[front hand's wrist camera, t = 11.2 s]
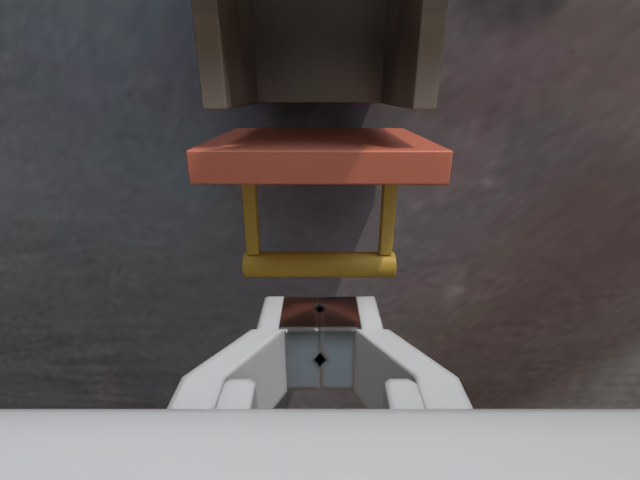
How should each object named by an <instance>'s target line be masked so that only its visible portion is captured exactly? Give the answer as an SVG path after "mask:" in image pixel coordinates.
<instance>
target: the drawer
mask: <svg viewBox="0 0 640 480" xmlns="http://www.w3.org/2000/svg"><path fill="white" fill-rule="evenodd" d="M191 4H192V13H193V22H194V31H195V40H196V50H197V59H198V68H199V77H200V86H201V95H202V104H203V109H204V110H227V109H231V108H236V107H241V106H245V105H250V104H255V103H383V104H388V105H393V106H397V107H402V108H407V109H411V110H435V109H436V105H437V96H438V87H439V78H440V69H441V60H442V51H443V42H444V33H445V24H446V15H447V6H448V0H191ZM186 157H187V165H188V173H189V180H190V184H241V186H242V199H243V211H244V224H245V237H246V250H247V252H245V253H244V255H243V260H242V270H243V275H244V277H395V274H396V256H395V253H394V252H392V247H393V235H394V222H395V210H396V197H397V185H447V184H449V179H450V172H451V164H452V157H453V151H451V150H449V149H447V148H445V147H443V146H441V145H438V144H436V143H434V142H432V141H430V140H427V139H425V138H423V137H421V136H419V135H417V134H414V133H412V132H410V131H408V130H406V129H404V128H235V129H233V130H230V131H228V132H226V133H224V134H222V135H220V136H217V137H215V138H213V139H211V140H209V141H206V142H204V143H202V144H200V145H198V146H195V147H193V148H191V149H189V150H187V151H186ZM257 184H282V185H382V198H381V214H380V229H379V244H378V251H379V252H260V250H261V248H260V232H259V216H258V200H257Z"/></svg>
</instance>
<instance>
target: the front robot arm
mask: <svg viewBox="0 0 640 480" xmlns="http://www.w3.org/2000/svg"><path fill="white" fill-rule="evenodd" d="M305 389H334V390H353V392H354V393H355V395H356V396H357V397H358V398H359V400H360V401H361V402H362V403H363V405H364V406H365V407H366V408H367V409H274V407H275V406H276V405H277V404H278V402H279V401H280V400H281V399H282V397H283V396H284V395H285V394H286V392H287V390H305ZM0 480H640V409H473V407H472V405H471V403H470V401H469V399H468V397H467V395H466V393H465V391H464V389H463V386H462V384H461V382H460V380H459V378H458V377H457V376H455V375H454V374H452V373H451V372H449V371H448V370H447V369H445V368H444V367H442V366H441V365H439V364H438V363H436V362H435V361H434V360H432V359H431V358H429V357H428V356H426V355H425V354H423V353H422V352H421V351H419V350H418V349H416V348H415V347H413V346H412V345H410V344H409V343H408V342H406V341H405V340H403V339H402V338H400V337H399V336H397V335H396V334H395V333H393V332H392V331H390V330H389V329H383V326H382V322H381V318H380V315H379V311H378V307H377V304H376V300H375V297H374V296H362V297H284V296H267V297H266V298H265V300H264V303H263V307H262V311H261V314H260V318H259V322H258V326H257V329H251V330H250V331H248V332H247V333H245V334H244V335H243V336H241V337H240V338H238V339H237V340H235V341H234V342H232V343H231V344H230V345H228V346H227V347H225V348H224V349H222V350H221V351H219V352H218V353H216V354H215V355H214V356H212V357H211V358H209V359H208V360H206V361H205V362H203V363H202V364H200V365H199V366H198V367H196V368H195V369H193V370H192V371H190V372H189V373H187V374H186V375H185V376H183V377H182V379H181V381H180V383H179V385H178V387H177V389H176V391H175V393H174V395H173V397H172V399H171V401H170V403H169V405H168V407H167V409H0Z"/></svg>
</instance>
